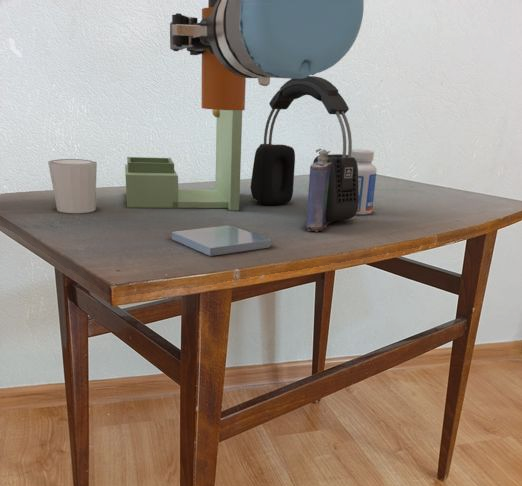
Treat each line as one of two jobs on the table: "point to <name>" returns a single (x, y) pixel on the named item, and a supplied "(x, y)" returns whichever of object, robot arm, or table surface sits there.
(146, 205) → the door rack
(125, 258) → the table surface
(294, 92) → the headphones
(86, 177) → the white cup
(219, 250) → the coaster
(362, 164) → the pill bottle
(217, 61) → the amber bottle
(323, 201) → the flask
